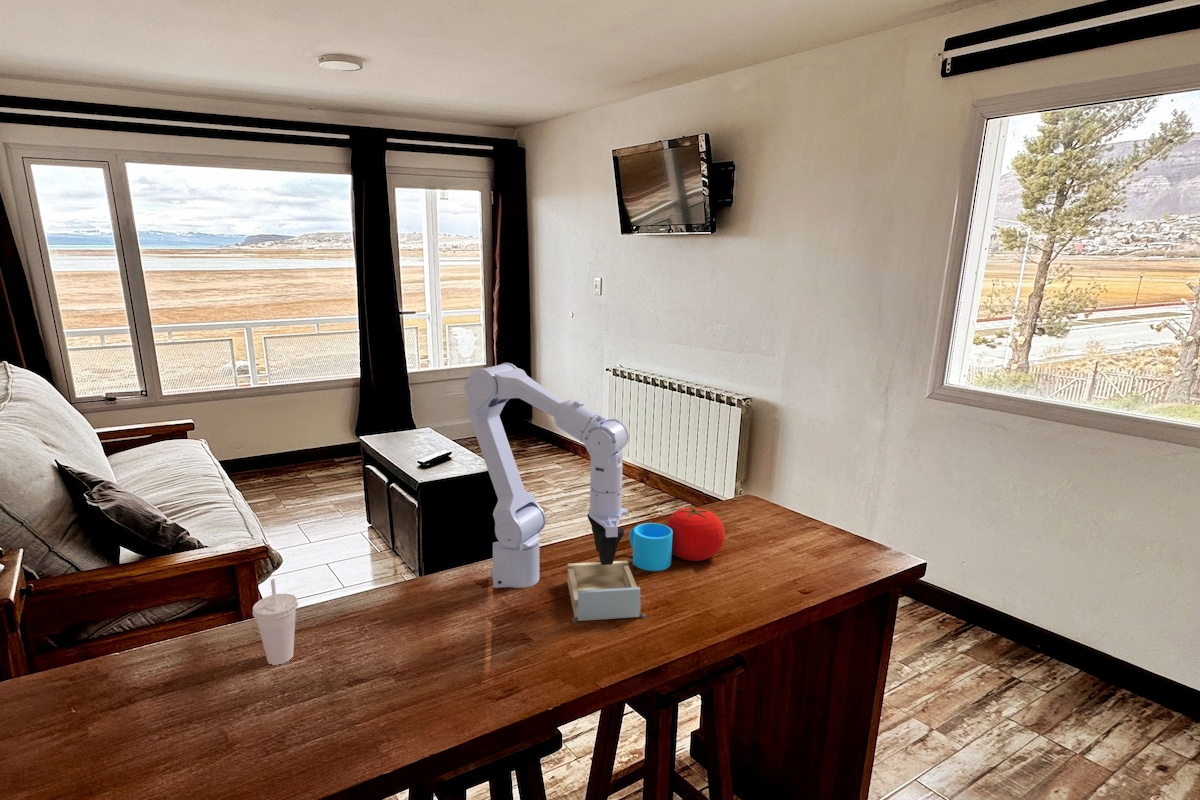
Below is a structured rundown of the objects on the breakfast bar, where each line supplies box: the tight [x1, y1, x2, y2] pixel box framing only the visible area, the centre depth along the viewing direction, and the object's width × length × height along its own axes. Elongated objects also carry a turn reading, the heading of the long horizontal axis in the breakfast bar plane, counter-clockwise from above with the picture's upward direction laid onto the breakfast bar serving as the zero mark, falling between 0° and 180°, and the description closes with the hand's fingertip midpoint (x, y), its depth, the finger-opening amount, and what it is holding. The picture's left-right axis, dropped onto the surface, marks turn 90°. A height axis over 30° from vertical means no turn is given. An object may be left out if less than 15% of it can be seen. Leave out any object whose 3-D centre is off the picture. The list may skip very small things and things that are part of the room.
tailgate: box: [577, 586, 641, 622], centre depth 112 cm, size 11×1×5 cm, turn 99°
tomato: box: [665, 505, 726, 562], centre depth 139 cm, size 12×13×11 cm
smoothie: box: [252, 578, 299, 666], centre depth 100 cm, size 6×6×14 cm
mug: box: [629, 522, 673, 572], centre depth 136 cm, size 12×8×8 cm
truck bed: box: [566, 560, 646, 624], centre depth 119 cm, size 13×15×5 cm
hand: (604, 557), depth 117 cm, fingers open, 4 cm apart
